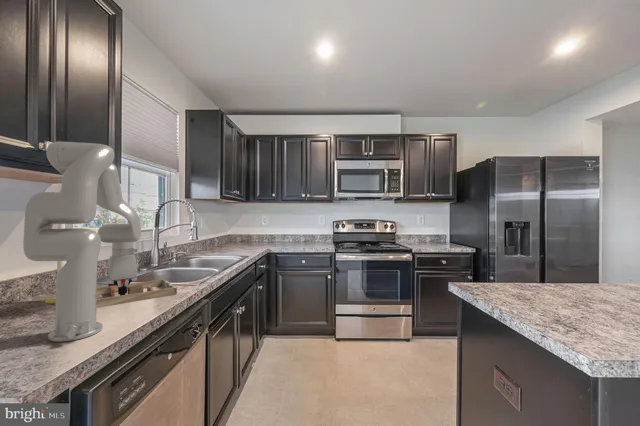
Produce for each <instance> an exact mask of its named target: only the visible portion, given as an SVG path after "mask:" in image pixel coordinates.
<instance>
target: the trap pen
mask: <svg viewBox="0 0 640 426" xmlns="http://www.w3.org/2000/svg"><path fill="white" fill-rule="evenodd" d="M137 285H141V286H143V289H146V291H143V292H141V293H134V294H128V293H127V294H125V295H121V296H120V295H116V293H118V286H116V285H115V286H108V285H107V286H101V287H97V296H101V295H106V294H107V295H108V294H110V296H109V297H103V298H102V297H101V298H97V306H96V309H97V308H102V307H109V306H114V305H120V304H126V303H132V302H137V301H138V302H139V301H145V300H151V299H156V298H157V299H158V298H163V297H170V296H175V295H177V293H178V287H177V286H175V284H172V283H171V282H169V281H168V280H166V279H164V278H163V279H155V280H149V281H147V280H146V281H141V282H140V281H139V282H133V283H132V282H131V283H130V284H129V285H128V286H127V292H128V287H130V286H137ZM122 286H123V285H122ZM157 287H163V288H162V289H154V288H157Z"/></svg>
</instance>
